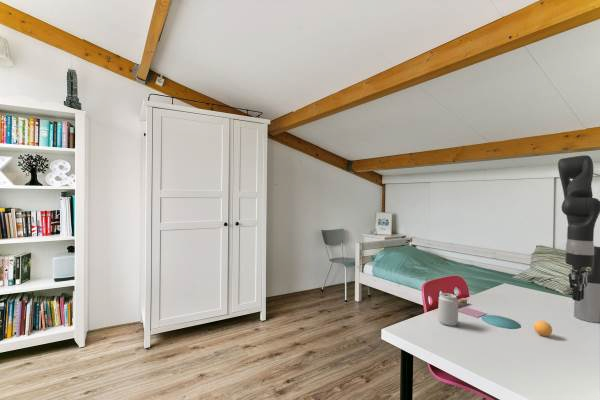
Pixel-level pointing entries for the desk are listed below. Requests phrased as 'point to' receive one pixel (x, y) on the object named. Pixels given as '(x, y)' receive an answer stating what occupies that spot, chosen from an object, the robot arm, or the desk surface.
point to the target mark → (501, 321)
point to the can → (448, 309)
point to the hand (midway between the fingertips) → (578, 299)
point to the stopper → (462, 301)
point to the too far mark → (472, 312)
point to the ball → (543, 328)
